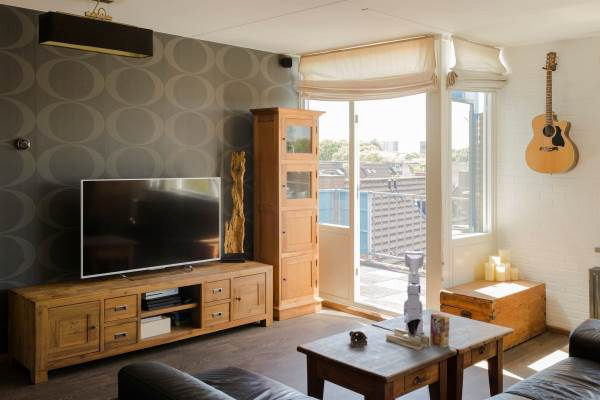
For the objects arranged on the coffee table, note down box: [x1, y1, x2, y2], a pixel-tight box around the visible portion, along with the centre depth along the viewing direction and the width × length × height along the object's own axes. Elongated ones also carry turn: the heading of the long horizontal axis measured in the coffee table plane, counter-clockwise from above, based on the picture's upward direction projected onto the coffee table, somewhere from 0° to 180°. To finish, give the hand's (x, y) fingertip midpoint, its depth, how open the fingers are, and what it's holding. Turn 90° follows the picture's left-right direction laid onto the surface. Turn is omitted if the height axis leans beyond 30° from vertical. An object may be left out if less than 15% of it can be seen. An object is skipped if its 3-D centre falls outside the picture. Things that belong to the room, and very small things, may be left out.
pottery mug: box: [348, 330, 368, 348], centre depth 291 cm, size 12×10×8 cm
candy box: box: [429, 312, 450, 349], centre depth 291 cm, size 9×4×15 cm, turn 39°
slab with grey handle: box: [403, 328, 421, 343], centre depth 292 cm, size 4×8×7 cm, turn 48°
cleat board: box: [385, 327, 430, 351], centre depth 294 cm, size 9×20×4 cm, turn 45°
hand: (412, 333), depth 292 cm, fingers closed on slab with grey handle
